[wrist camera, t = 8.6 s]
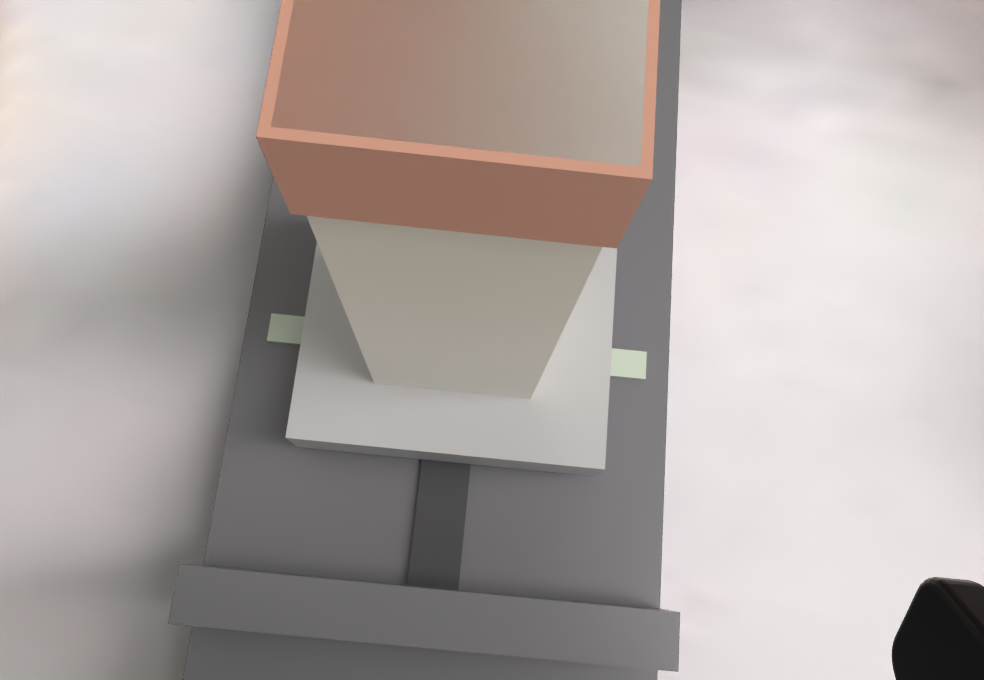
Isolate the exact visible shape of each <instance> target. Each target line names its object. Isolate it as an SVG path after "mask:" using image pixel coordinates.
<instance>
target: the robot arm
mask: <svg viewBox="0 0 984 680" xmlns="http://www.w3.org/2000/svg"><path fill="white" fill-rule="evenodd" d="M892 664H893V670H894V674H895V678H896V680H984V587H983V586H982V585H980V584H978V583H976V582H973V581H969V580H960V579H950V578H940V577H933V578H928V579H927V580H925V581H924V582H923V583H922V584H921V585H920V586H919V588H918V590H917V592H916V594H915V596H914V598H913V600H912V603H911V605H910V607H909V609H908V611H907V613H906V615H905V617H904V619H903V622H902V624H901V626H900V628H899V630H898V632H897V634H896V636H895V639H894V642H893V647H892Z"/></svg>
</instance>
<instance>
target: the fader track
mask: <svg viewBox="0 0 984 680" xmlns="http://www.w3.org/2000/svg"><path fill="white" fill-rule="evenodd" d="M681 2H682V0H660V19H659V41H658V64H657V87H656V109H655V132H654V155H653V178H652V181H651V183H650V185H649V187H648V189H647V191H646V193H645V195H644V196H643V198H642V200H641V202H640V204H639V206H638V208H637V210H636V212H635V214H634V216H633V218H632V220H631V222H630V223H629V225H628V227H627V229H626V231H625V233H624V235H623V237H622V239H621V241H620V243H619V245H618V247H617V261H616V279H615V297H614V315H613V333H612V351H611V370H610V388H609V406H608V424H607V442H606V460H605V470H603V471H602V472H600V473H599V474H597V475H596V476H585V475H575V474H565V473H555V472H545V471H535V470H525V469H514V468H504V467H494V466H484V465H474V464H464V463H454V462H444V461H434V460H424V459H413V458H403V457H393V456H383V455H373V454H363V453H353V452H343V451H333V450H323V449H312V448H302V447H296V446H295V445H294V444H292V443H291V442H290V441H289V440H287V439H286V438H285V437H286V430H287V424H288V418H289V412H290V406H291V399H292V393H293V387H294V381H295V375H296V368H297V362H298V356H299V350H300V343H301V337H302V331H303V325H304V319H305V312H306V306H307V300H308V294H309V287H310V281H311V275H312V269H313V263H314V256H315V250H316V244H317V241H316V238H315V236H314V233H313V231H312V228H311V226H310V223H309V221H308V218H307V216H303V215H294V214H290V212H289V209H288V207H287V205H286V203H285V201H284V198H283V196H282V194H281V192H280V189H279V187H278V185H277V183H276V180H275V178H274V176H273V181H272V187H271V192H270V198H269V203H268V209H267V214H266V220H265V226H264V231H263V237H262V242H261V248H260V253H259V259H258V264H257V270H256V275H255V281H254V287H253V292H252V298H251V303H250V309H249V314H248V320H247V325H246V331H245V337H244V342H243V348H242V353H241V359H240V364H239V370H238V375H237V381H236V386H235V392H234V398H233V403H232V409H231V414H230V420H229V425H228V431H227V436H226V442H225V447H224V453H223V459H222V464H221V470H220V475H219V481H218V486H217V492H216V497H215V503H214V508H213V514H212V520H211V525H210V531H209V536H208V542H207V547H206V553H205V558H204V564H203V565H179V568H178V574H177V579H176V584H175V590H174V595H173V600H172V606H171V611H170V616H169V622H168V624H175V625H186V626H192V631H191V636H190V642H189V647H188V653H187V658H186V664H185V669H184V675H183V680H657V672H658V670H665V671H676V672H678V665H679V631H680V612H674V611H669V610H663V609H660V588H661V561H662V533H663V505H664V477H665V449H666V421H667V393H668V365H669V337H670V309H671V281H672V253H673V226H674V198H675V170H676V142H677V114H678V86H679V58H680V30H681Z"/></svg>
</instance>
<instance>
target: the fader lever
mask: <svg viewBox="0 0 984 680" xmlns="http://www.w3.org/2000/svg"><path fill="white" fill-rule="evenodd" d="M659 19H660V0H282V2H281V7H280V12H279V18H278V23H277V28H276V34H275V39H274V44H273V49H272V55H271V60H270V65H269V71H268V76H267V81H266V86H265V92H264V97H263V102H262V108H261V113H260V118H259V123H258V129H257V134H256V138H257V140H258V142H259V145H260V147H261V149H262V151H263V154H264V156H265V158H266V160H267V163H268V165H269V167H270V169H271V171H272V174H273V176H274V178H275V180H276V183H277V185H278V187H279V189H280V192H281V194H282V196H283V198H284V201H285V203H286V205H287V207H288V209H289V212H290V214H294V215H303V216H307V218H308V221H309V223H310V226H311V228H312V231H313V233H314V236H315V238H316V241H317V244H316V250H315V256H314V263H313V269H312V275H311V281H310V287H309V294H308V300H307V306H306V312H305V319H304V325H303V331H302V337H301V343H300V350H299V356H298V362H297V368H296V375H295V381H294V387H293V393H292V399H291V406H290V412H289V418H288V424H287V430H286V437H285V438H286V439H287V440H289V441H290V442H291V443H292V444H294V445H295V446H296V447H302V448H312V449H323V450H333V451H343V452H353V453H363V454H373V455H383V456H393V457H403V458H413V459H424V460H434V461H444V462H454V463H464V464H474V465H484V466H494V467H504V468H514V469H525V470H535V471H545V472H555V473H565V474H575V475H585V476H596V475H597V474H599V473H600V472H602V471H603V470H605V460H606V442H607V424H608V406H609V388H610V370H611V351H612V333H613V315H614V297H615V279H616V261H617V247H618V245H619V243H620V241H621V239H622V237H623V235H624V233H625V231H626V229H627V227H628V225H629V223H630V222H631V220H632V218H633V216H634V214H635V212H636V210H637V208H638V206H639V204H640V202H641V200H642V198H643V196H644V195H645V193H646V191H647V189H648V187H649V185H650V183H651V181H652V178H653V155H654V132H655V109H656V87H657V64H658V41H659Z"/></svg>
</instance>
